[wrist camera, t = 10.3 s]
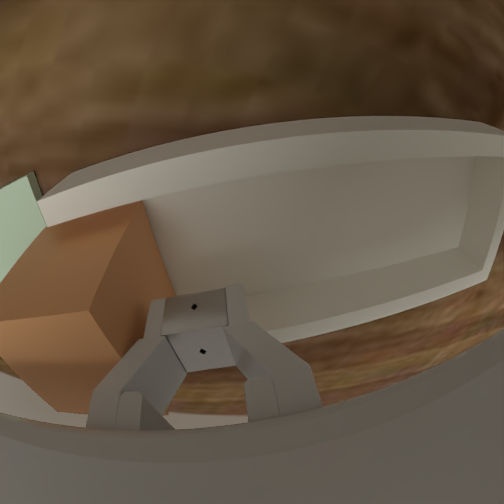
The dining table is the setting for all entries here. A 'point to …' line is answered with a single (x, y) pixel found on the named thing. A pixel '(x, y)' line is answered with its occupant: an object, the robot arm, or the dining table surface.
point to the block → (80, 302)
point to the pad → (18, 219)
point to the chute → (313, 214)
